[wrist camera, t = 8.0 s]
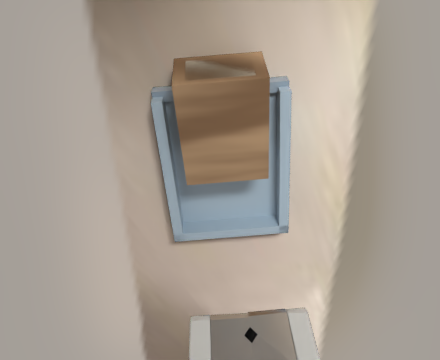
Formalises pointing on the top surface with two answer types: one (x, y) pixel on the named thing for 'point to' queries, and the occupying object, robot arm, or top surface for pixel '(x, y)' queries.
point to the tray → (226, 191)
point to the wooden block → (223, 117)
